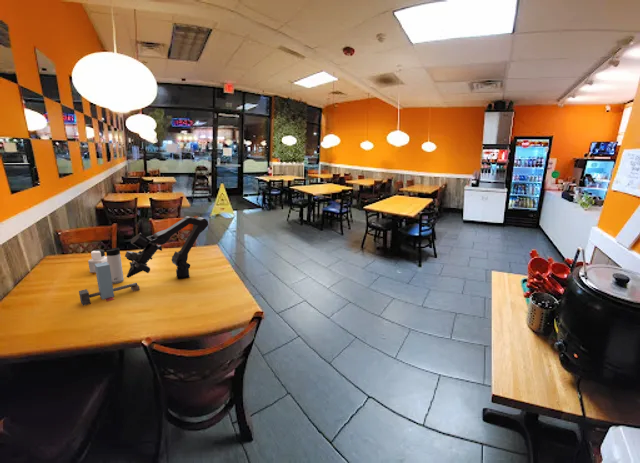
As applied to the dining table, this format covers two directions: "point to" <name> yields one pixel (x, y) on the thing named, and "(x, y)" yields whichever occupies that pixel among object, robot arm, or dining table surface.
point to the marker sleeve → (104, 280)
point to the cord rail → (86, 296)
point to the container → (96, 259)
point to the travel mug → (115, 265)
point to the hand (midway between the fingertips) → (127, 277)
